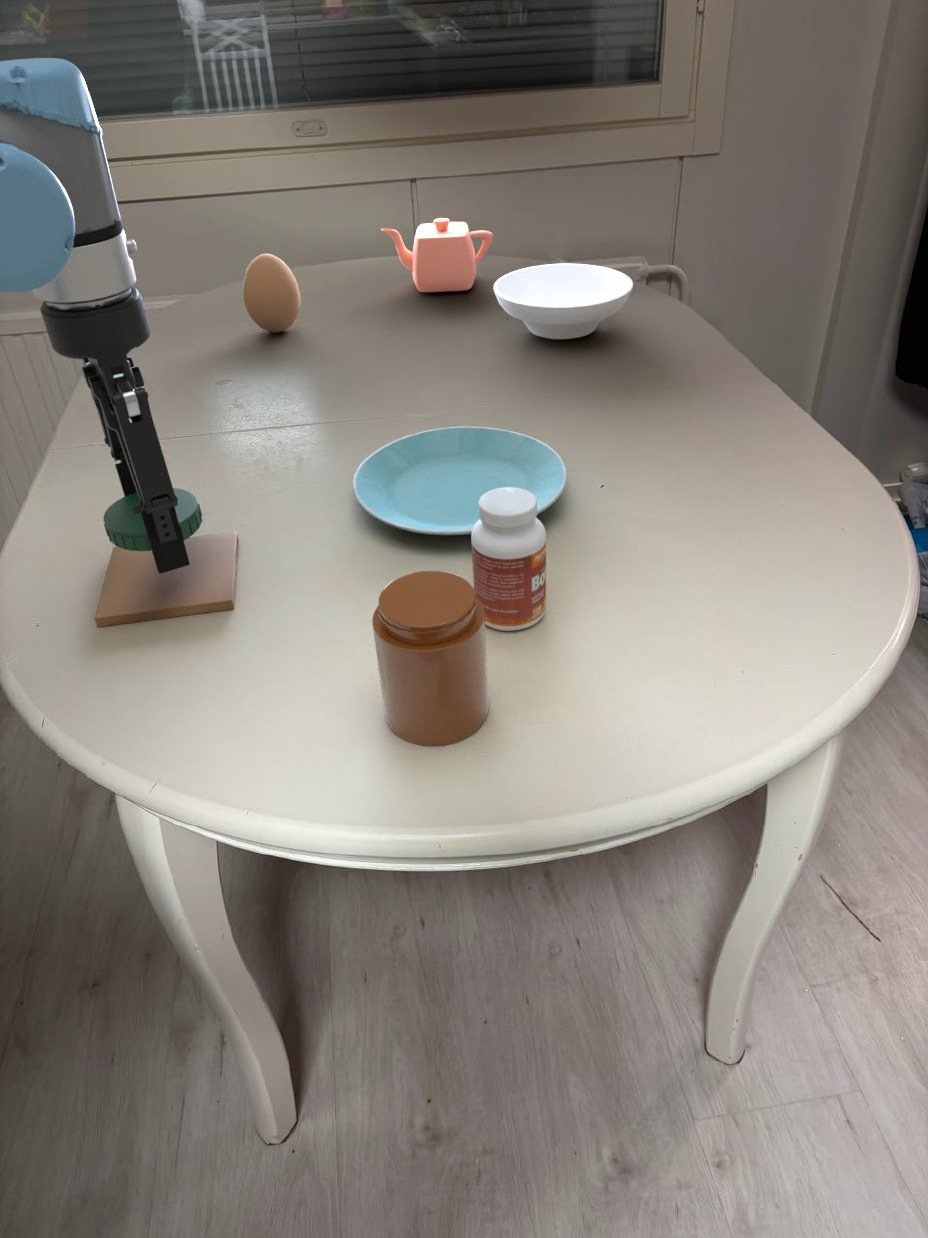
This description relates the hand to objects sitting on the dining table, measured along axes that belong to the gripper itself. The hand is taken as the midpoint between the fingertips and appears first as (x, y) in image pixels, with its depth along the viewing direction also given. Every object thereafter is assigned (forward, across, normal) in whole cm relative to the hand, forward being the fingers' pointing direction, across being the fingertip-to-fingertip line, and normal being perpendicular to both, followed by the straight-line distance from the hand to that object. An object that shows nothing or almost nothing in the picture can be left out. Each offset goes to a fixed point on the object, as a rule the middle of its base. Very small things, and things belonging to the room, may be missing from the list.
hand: (160, 544), depth 85 cm
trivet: (+4, 0, 0) cm, 4 cm away
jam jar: (+4, -29, -13) cm, 32 cm away
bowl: (+4, +32, -66) cm, 74 cm away
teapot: (+4, +62, -62) cm, 88 cm away
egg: (+4, +59, -32) cm, 67 cm away
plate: (+4, -1, -30) cm, 31 cm away
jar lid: (-3, 0, 0) cm, 3 cm away
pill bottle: (+4, -22, -24) cm, 33 cm away
